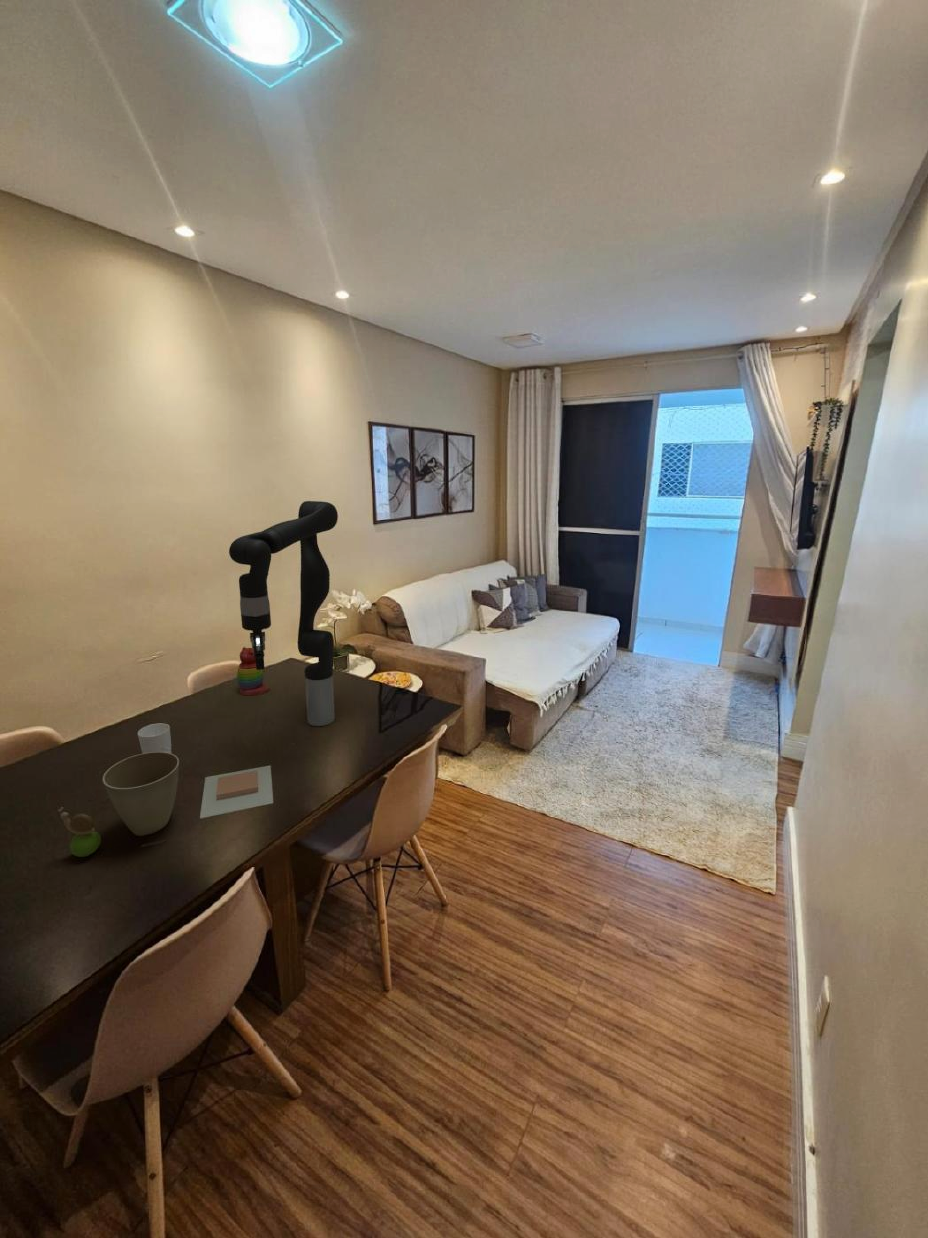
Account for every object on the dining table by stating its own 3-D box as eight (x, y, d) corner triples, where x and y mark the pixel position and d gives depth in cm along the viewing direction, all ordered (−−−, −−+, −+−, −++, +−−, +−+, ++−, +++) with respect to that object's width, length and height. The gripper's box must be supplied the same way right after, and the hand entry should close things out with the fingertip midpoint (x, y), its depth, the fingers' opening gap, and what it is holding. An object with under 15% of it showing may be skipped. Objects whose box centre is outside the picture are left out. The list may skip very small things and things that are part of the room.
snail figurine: (78, 844, 110) (68, 800, 106) (108, 844, 110) (98, 799, 107) (61, 863, 104) (50, 817, 101) (92, 862, 105) (82, 816, 102)
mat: (205, 779, 135) (205, 777, 134) (270, 767, 141) (270, 765, 141) (200, 820, 119) (199, 818, 119) (273, 804, 125) (273, 803, 125)
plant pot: (133, 858, 107) (122, 797, 102) (102, 831, 114) (90, 773, 109) (199, 820, 119) (191, 764, 114) (167, 798, 126) (158, 744, 122)
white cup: (179, 756, 144) (175, 727, 141) (154, 770, 137) (149, 739, 135) (162, 750, 147) (158, 720, 145) (136, 762, 141) (131, 732, 138)
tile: (218, 777, 132) (216, 795, 125) (257, 770, 136) (257, 787, 129) (218, 782, 132) (216, 800, 125) (257, 775, 136) (258, 792, 129)
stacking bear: (271, 691, 189) (268, 649, 184) (245, 698, 182) (241, 655, 177) (259, 682, 196) (255, 641, 191) (234, 689, 189) (229, 647, 184)
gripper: (241, 605, 137) (246, 662, 142) (240, 618, 126) (246, 679, 131) (269, 604, 140) (273, 659, 145) (270, 616, 129) (275, 676, 134)
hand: (260, 668), depth 138 cm, fingers closed
